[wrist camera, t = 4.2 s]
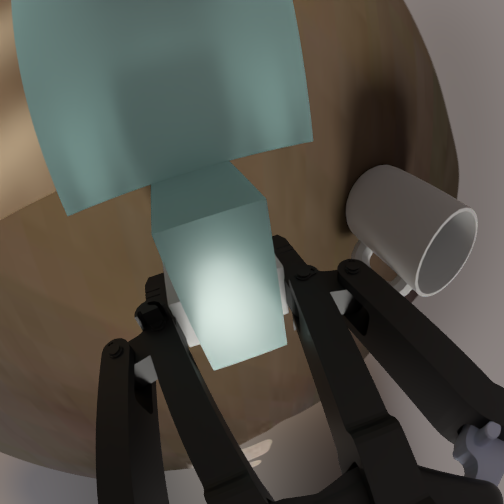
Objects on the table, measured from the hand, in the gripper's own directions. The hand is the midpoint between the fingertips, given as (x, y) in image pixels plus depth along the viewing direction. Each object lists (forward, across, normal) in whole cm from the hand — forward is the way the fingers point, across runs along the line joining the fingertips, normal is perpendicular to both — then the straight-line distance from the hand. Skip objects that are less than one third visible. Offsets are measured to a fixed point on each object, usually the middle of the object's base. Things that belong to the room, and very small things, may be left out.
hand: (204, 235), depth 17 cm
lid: (-2, 0, +9) cm, 10 cm away
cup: (+3, +14, -4) cm, 15 cm away
